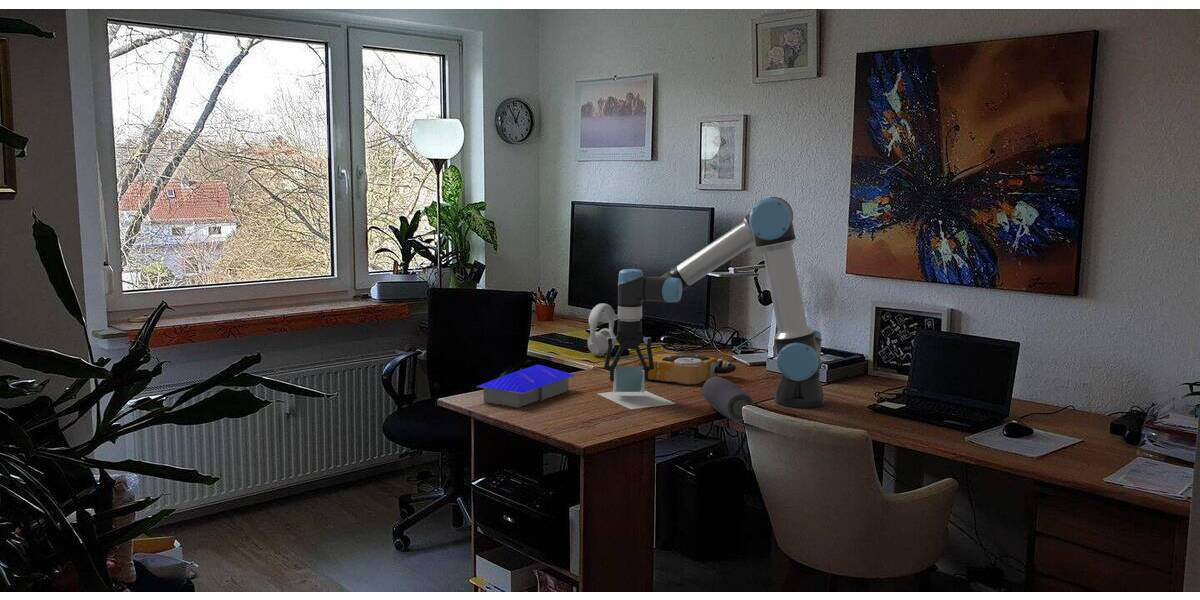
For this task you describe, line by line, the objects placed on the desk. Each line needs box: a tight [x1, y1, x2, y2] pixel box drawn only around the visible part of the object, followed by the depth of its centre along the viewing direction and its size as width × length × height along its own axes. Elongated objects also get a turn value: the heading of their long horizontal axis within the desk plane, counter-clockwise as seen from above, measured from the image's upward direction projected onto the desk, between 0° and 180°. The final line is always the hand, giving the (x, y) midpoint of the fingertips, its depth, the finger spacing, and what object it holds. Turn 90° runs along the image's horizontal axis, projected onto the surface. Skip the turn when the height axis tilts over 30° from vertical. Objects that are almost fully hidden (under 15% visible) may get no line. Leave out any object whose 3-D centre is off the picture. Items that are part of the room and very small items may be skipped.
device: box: [634, 353, 737, 385], centre depth 336 cm, size 23×8×30 cm
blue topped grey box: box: [476, 364, 576, 408], centre depth 308 cm, size 30×17×9 cm, turn 150°
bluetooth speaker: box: [701, 375, 755, 423], centre depth 286 cm, size 23×9×10 cm, turn 12°
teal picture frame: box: [615, 366, 643, 392], centre depth 305 cm, size 8×3×10 cm
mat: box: [597, 389, 677, 410], centre depth 305 cm, size 22×16×1 cm
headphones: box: [586, 303, 617, 357], centre depth 375 cm, size 18×8×20 cm, turn 156°
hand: (628, 391), depth 304 cm, fingers closed on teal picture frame, 8 cm apart
